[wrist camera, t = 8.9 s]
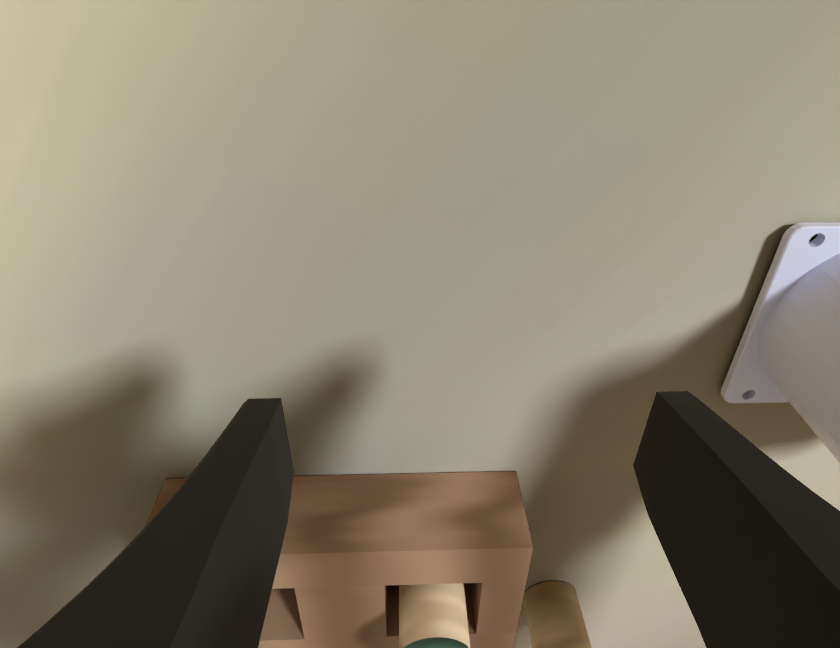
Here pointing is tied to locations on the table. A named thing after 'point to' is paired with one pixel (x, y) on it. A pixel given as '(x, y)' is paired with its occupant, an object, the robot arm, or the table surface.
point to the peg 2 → (555, 616)
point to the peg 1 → (433, 616)
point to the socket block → (394, 555)
